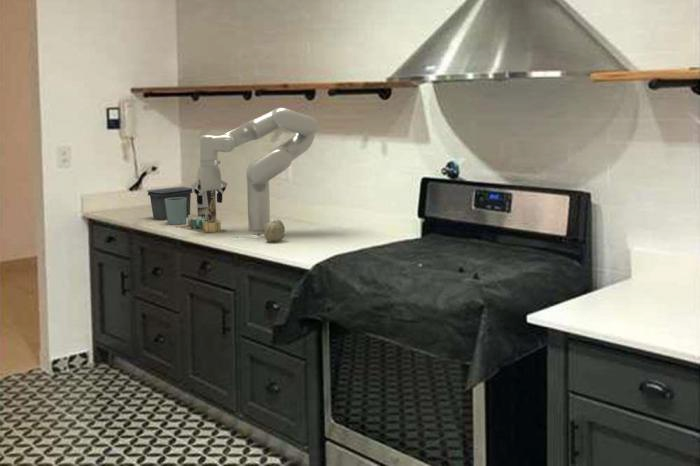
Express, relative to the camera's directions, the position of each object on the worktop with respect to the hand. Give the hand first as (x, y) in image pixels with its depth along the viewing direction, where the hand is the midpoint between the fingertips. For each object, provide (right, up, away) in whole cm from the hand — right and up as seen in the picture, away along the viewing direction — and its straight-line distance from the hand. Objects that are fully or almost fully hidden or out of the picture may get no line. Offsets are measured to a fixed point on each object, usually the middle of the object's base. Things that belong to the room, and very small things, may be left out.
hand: (209, 203), depth 353 cm
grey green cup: (-21, -9, +34) cm, 41 cm away
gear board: (-5, -12, +9) cm, 16 cm away
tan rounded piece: (+29, -17, -17) cm, 38 cm away
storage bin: (-29, -5, +54) cm, 62 cm away
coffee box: (-8, -7, +40) cm, 41 cm away
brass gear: (+1, -12, +2) cm, 12 cm away
